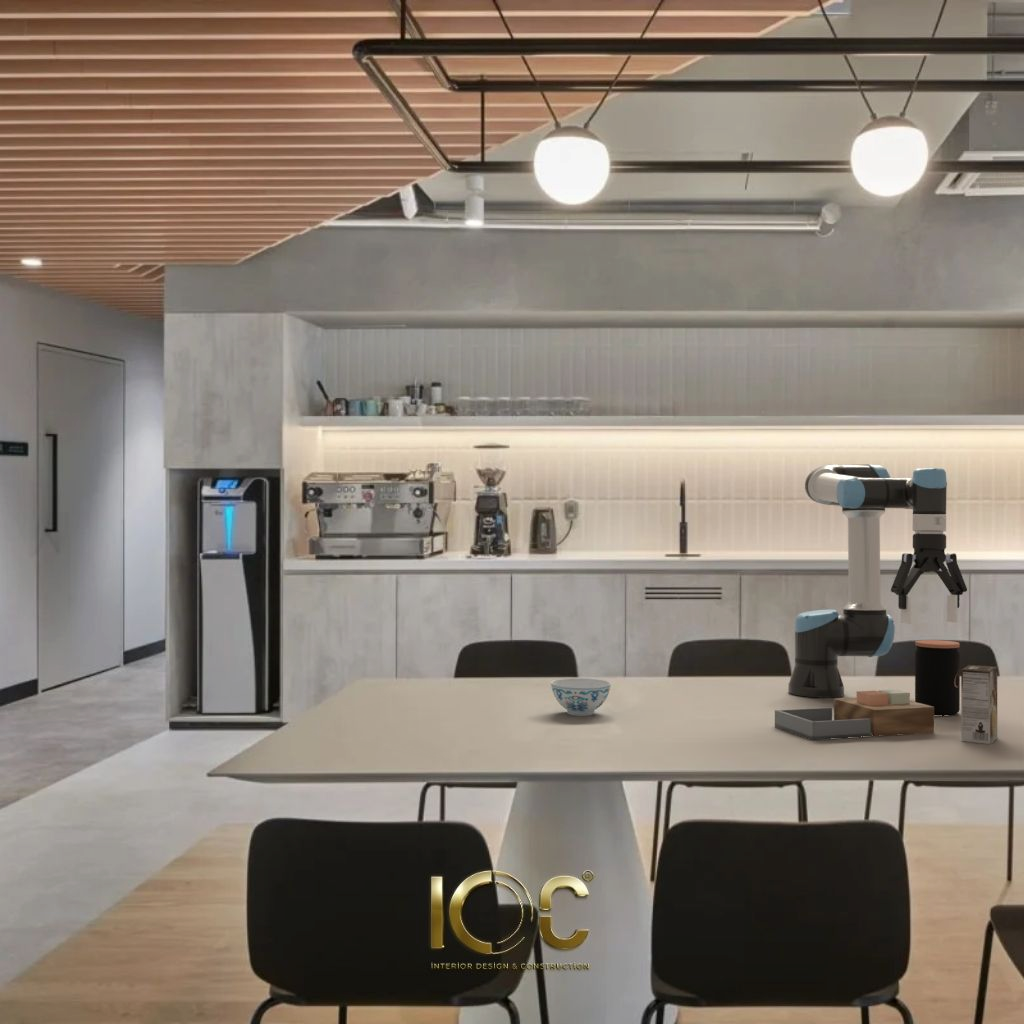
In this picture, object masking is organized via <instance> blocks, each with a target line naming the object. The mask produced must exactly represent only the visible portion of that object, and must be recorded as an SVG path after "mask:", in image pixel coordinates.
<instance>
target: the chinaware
mask: <svg viewBox="0 0 1024 1024" xmlns="http://www.w3.org/2000/svg"><path fill="white" fill-rule="evenodd" d="M550 685H551V690H552V693H553V695H554V698H555V700H556V701H557V703H559V704H560V706H561V707H563V708H564V709H565V710H566V712H567V714H568V715H571V716H578V717H582V716H583V717H586V716H592V715H594V714H595V710H597V709H598V708H600V707H601V706H602V705H603V703H605V701H606V699H608V696H609V693H610V690H611V685H612V684H611V682H610V681H607V680H603V679H599V678H598V679H596V678H577V677H575V678H561V679H556V680H555V679H554V680H552V681H551V682H550Z"/></svg>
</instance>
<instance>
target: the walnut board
mask: <svg viewBox="0 0 1024 1024" xmlns="http://www.w3.org/2000/svg"><path fill="white" fill-rule="evenodd" d="M867 718H869V719H870V733H872V735H873V736H872V737H874V736H875V737H880V736H879V735H892V736H898V735H897V734H908V735H916V734H915V733H925V734H934V733H935V716H934V707H933V706H929V705H925V704H921V703H917V702H915V701H912V700H910V703H908V704H888V705H866V704H862V703H858V702H857V697H844V698H843V697H841V698H833V720H849V719H867ZM933 732H934V733H933Z"/></svg>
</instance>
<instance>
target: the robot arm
mask: <svg viewBox="0 0 1024 1024" xmlns="http://www.w3.org/2000/svg"><path fill="white" fill-rule="evenodd" d="M947 486H948V482H947V472H946V470H945V468H938V467H936V468H935V467H927V468H925V467H924V468H923V467H922V468H915V469H914V470H913V472H912V477H910V478H909V477H891V475H890V472H889V471H888V470H887V469H886V468H885V467H884V466H883V465H877V464H870V463H869V464H828V465H827V464H826V465H822V466H819V467H817V468H815V469H813V470H812V471H811V472H810V473H809V474H807V476H806V478H805V482H804V490H805V494H806V495H807V497H808V498H809V499H810V500H811V501H814V502H815V503H818V504H822V505H826V506H839V507H841V512H842V514H844V515H845V517H846V518H847V543H848V545H847V547H848V548H847V549H848V550H847V552H848V553H847V554H848V555H847V556H848V557H847V558H848V560H847V561H848V563H847V564H848V566H847V567H848V602H847V604H845V606H843V609H842V610H843V611H842V612H843V613H842V614H839V611H838V610H836V609H817V610H816V609H815V610H810V611H809V610H808V611H805V612H800V613H799V614H797V615H796V617H795V619H794V620H795V622H794V623H795V624H794V630H793V631H794V666H793V667H794V668H793V670H792V673H791V676H790V679H789V682H788V687H787V689H788V691H787V692H788V693H789V694H790V695H794V696H800V697H809V698H810V697H811V698H837V697H843V696H844V695H845V686H844V682H843V679H842V677H841V673H840V671H839V667H838V666H839V665H838V664H839V663H838V659H839V657H867V658H872V657H881V656H882V657H883V656H886V655H887V654H888V653H889V651H890V650H891V649H892V646H893V643H894V638H895V629H896V628H895V623H894V622H895V621H894V619H893V617H892V616H891V615H889V614H887V608H886V607H885V606H884V605H883V604H882V602H881V600H882V599H881V533H880V532H881V531H880V530H881V527H880V524H881V521H880V520H881V517H882V516H883V515H884V514H885V512H886V509H905V510H909V509H910V510H912V531H913V532H915V533H913V534H912V549H913V554H912V553H907V552H906V553H902V554H901V563H900V565H899V568H898V570H897V573H896V575H895V577H894V580H893V583H892V586H891V588H890V592H891V593H893V594H895V595H897V596H898V597H897V598H898V599H897V600H898V609H899V610H900V623H902V624H908V625H910V624H912V623H911V620H912V619H911V618H912V617H911V615H912V610H911V609H912V608H911V607H912V596H911V595H909V593H910V592H911V590H912V589H913V587H914V586H915V585H916V583H917V582H918V580H919V578H920V577H921V576H922V575H923V574H924V573H930V572H931V573H933V572H934V573H935V574H937V576H938V577H939V578H940V580H941V582H942V584H944V586H945V587H946V589H947V590H948V592H949V594H948V593H947V594H946V622H949V623H958V609H959V608H960V597H961V596H962V595H963V594H964V593H966V592H967V591H968V588H967V585H966V583H965V579H964V578H963V574H962V572H961V570H960V566H959V565H958V558H957V554H956V552H955V553H953V552H947V553H946V552H945V550H946V548H947V535H946V533H945V534H944V532H946V531H947V491H948V490H947V489H948V487H947ZM913 563H914V564H913ZM945 564H946V565H945Z"/></svg>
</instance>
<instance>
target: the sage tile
mask: <svg viewBox="0 0 1024 1024" xmlns="http://www.w3.org/2000/svg"><path fill="white" fill-rule="evenodd" d="M877 691H879V692H883V693H887V694H888V704H908V703H910V701H911V699H910V698H911V697H910V695H911V692H909V691H903V690H900V689H884V690H883V689H879V690H877Z"/></svg>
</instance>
